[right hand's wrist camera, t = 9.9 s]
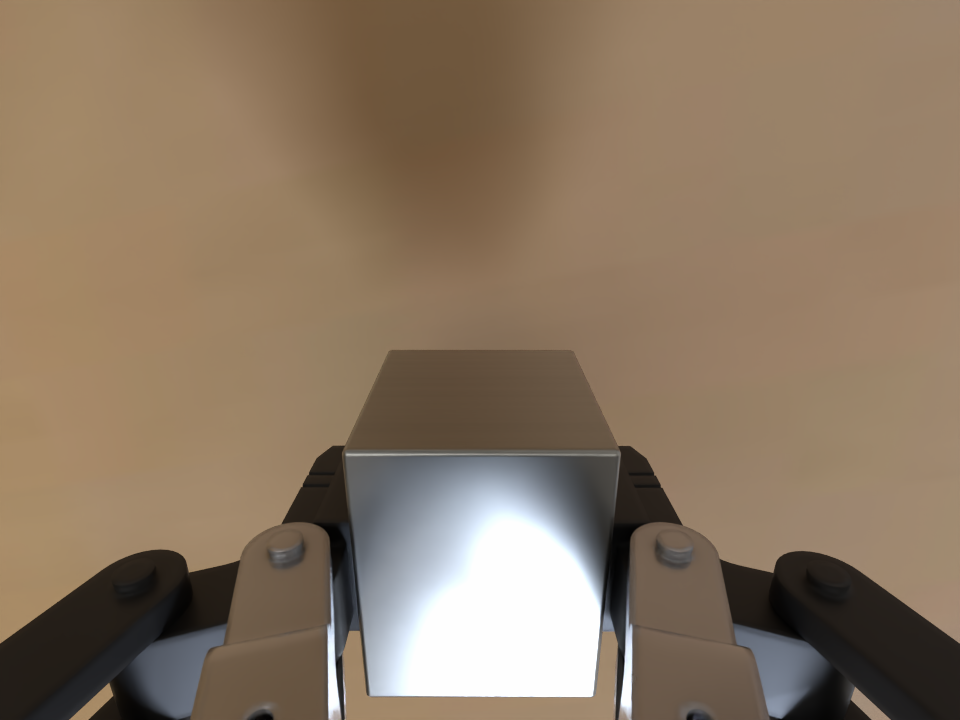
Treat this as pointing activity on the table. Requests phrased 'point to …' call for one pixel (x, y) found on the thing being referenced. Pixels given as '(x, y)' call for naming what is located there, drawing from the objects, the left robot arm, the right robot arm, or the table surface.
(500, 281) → the table surface
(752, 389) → the table surface
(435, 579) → the block
